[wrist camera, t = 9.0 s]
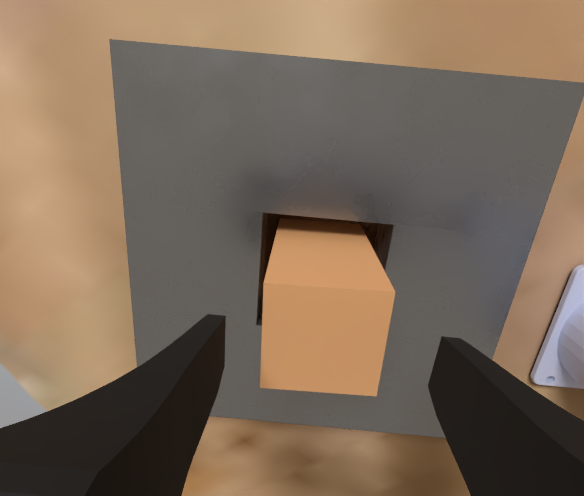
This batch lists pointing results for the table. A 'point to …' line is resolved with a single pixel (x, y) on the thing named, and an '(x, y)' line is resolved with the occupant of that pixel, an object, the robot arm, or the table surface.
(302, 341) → the tan square post
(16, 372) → the table surface
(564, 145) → the collar
